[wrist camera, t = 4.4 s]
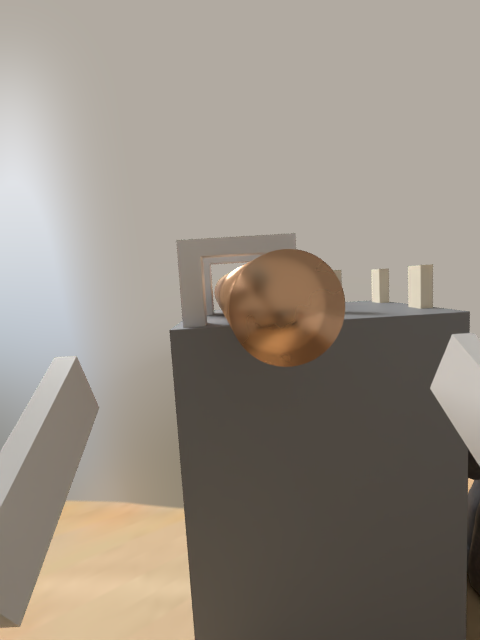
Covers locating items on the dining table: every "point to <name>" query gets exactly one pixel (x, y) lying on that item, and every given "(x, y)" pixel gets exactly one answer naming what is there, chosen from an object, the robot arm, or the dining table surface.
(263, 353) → the copper tube
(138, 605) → the dining table surface
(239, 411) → the grey pedestal with pegs
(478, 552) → the elephant
